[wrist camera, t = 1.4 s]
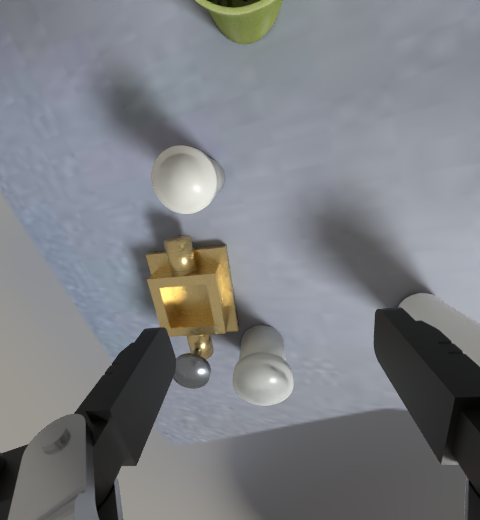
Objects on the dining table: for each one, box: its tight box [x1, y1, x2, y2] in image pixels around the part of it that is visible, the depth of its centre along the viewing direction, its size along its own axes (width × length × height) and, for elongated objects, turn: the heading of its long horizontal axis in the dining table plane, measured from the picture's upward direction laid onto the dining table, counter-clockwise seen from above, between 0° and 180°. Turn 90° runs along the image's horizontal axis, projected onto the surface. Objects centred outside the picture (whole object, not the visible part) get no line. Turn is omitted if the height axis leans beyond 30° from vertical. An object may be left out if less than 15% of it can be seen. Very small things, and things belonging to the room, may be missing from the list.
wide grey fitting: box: [233, 325, 293, 406], centre depth 31 cm, size 7×7×7 cm
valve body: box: [146, 235, 239, 388], centre depth 29 cm, size 17×10×8 cm, turn 7°
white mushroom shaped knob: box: [151, 145, 225, 214], centre depth 23 cm, size 5×5×9 cm
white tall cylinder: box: [398, 293, 480, 367], centre depth 24 cm, size 7×7×15 cm
